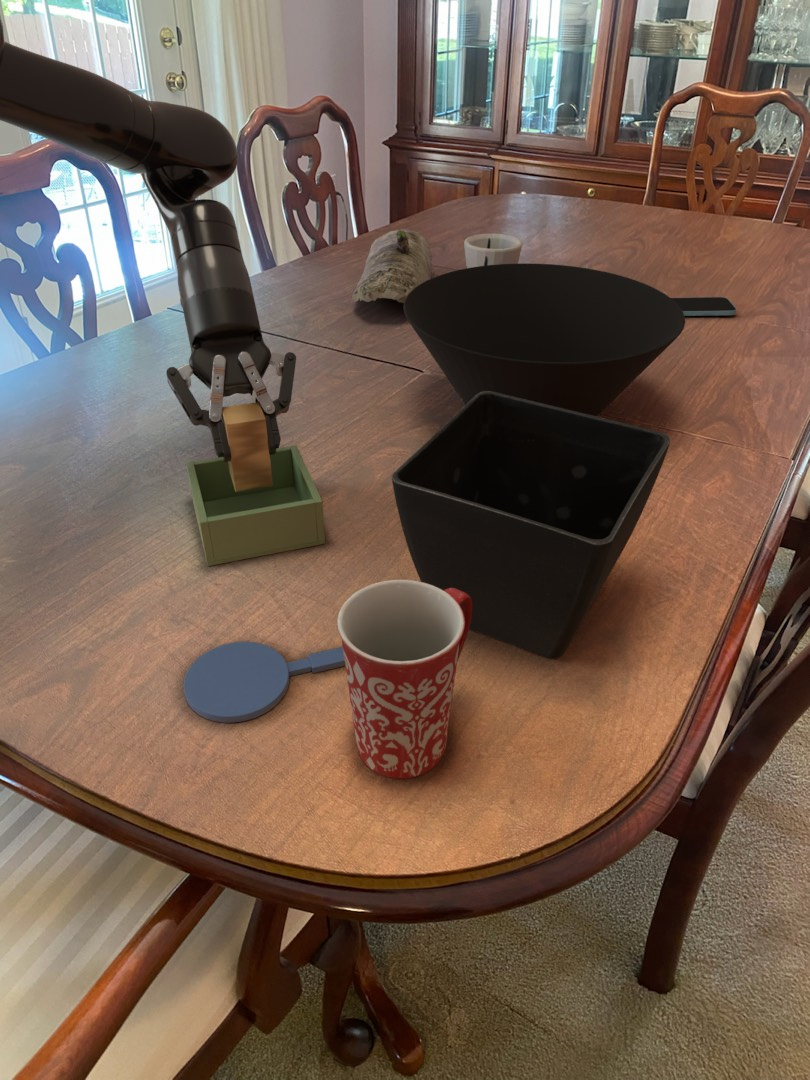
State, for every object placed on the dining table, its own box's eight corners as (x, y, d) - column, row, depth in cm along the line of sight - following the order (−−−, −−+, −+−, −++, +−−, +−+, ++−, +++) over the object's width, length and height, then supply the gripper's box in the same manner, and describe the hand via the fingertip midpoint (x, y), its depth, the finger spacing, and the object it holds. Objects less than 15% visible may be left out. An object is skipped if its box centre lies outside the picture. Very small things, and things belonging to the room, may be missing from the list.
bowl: (514, 510, 93) (525, 390, 84) (355, 395, 117) (352, 292, 108) (719, 429, 109) (746, 320, 100) (542, 342, 133) (552, 249, 124)
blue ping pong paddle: (191, 734, 66) (189, 727, 66) (179, 660, 73) (178, 654, 73) (400, 683, 71) (400, 677, 71) (371, 618, 78) (370, 612, 78)
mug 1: (405, 811, 60) (406, 683, 53) (321, 747, 65) (310, 620, 57) (506, 715, 68) (519, 590, 60) (424, 664, 73) (426, 542, 65)
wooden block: (235, 492, 86) (225, 424, 81) (229, 473, 89) (220, 407, 84) (273, 485, 87) (265, 418, 82) (266, 467, 90) (258, 401, 85)
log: (349, 273, 133) (366, 204, 155) (347, 336, 141) (363, 262, 163) (433, 281, 133) (437, 212, 155) (426, 344, 141) (431, 270, 163)
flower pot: (580, 701, 69) (609, 542, 59) (388, 628, 77) (385, 476, 67) (642, 579, 83) (674, 433, 73) (473, 528, 90) (482, 388, 80)
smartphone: (642, 297, 148) (726, 296, 147) (642, 303, 148) (725, 302, 148) (651, 312, 142) (738, 310, 141) (650, 318, 143) (737, 316, 142)
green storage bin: (207, 566, 85) (199, 523, 81) (193, 503, 94) (185, 462, 91) (325, 543, 88) (322, 501, 85) (299, 485, 97) (296, 444, 94)
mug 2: (462, 305, 147) (464, 249, 141) (460, 279, 159) (462, 226, 153) (520, 306, 147) (525, 250, 141) (514, 279, 159) (518, 226, 153)
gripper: (146, 292, 81) (178, 457, 78) (287, 277, 84) (322, 435, 82) (151, 324, 88) (181, 477, 86) (281, 310, 91) (313, 455, 89)
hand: (250, 455), depth 84 cm, fingers closed on wooden block, 4 cm apart
